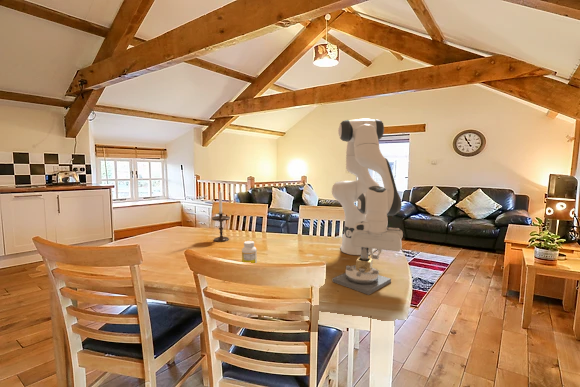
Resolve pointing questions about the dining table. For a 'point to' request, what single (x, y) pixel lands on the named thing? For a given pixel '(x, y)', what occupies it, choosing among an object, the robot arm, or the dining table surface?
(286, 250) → the dining table surface
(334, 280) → the base
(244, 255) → the supplement bottle
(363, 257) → the steel pin
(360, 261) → the grey round chuck
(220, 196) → the candlestick
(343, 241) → the robot arm
